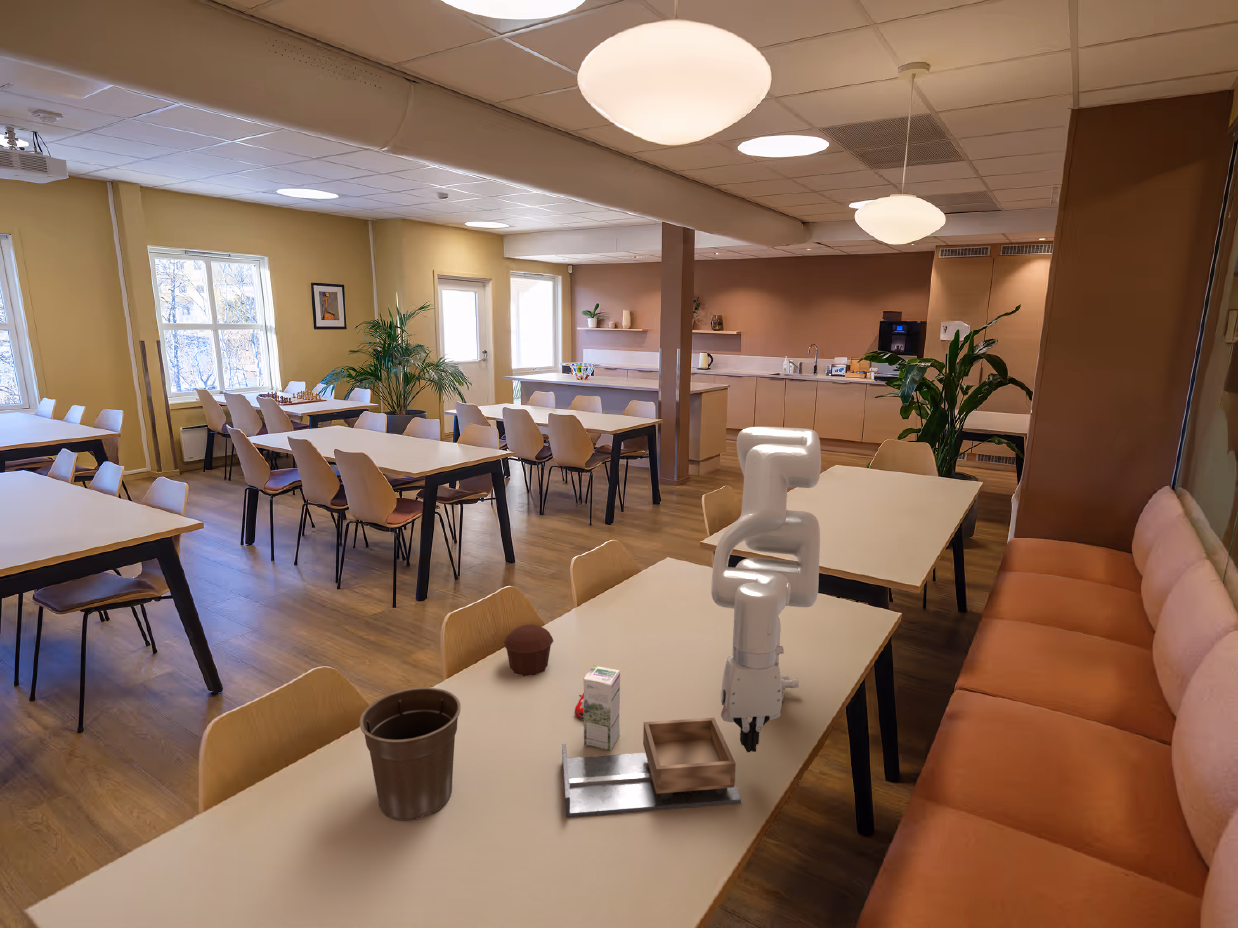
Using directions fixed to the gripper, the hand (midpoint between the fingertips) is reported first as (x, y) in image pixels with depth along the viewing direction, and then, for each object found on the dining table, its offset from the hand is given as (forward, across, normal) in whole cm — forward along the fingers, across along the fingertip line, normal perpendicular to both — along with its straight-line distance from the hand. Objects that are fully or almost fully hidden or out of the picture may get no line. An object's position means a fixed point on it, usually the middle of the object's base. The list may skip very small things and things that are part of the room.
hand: (748, 747), depth 119 cm
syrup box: (+6, +25, -13) cm, 29 cm away
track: (+6, +18, 0) cm, 19 cm away
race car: (+6, +26, -26) cm, 37 cm away
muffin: (+6, +40, -44) cm, 60 cm away
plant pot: (+6, +59, -1) cm, 59 cm away
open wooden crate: (+6, +11, 0) cm, 13 cm away
